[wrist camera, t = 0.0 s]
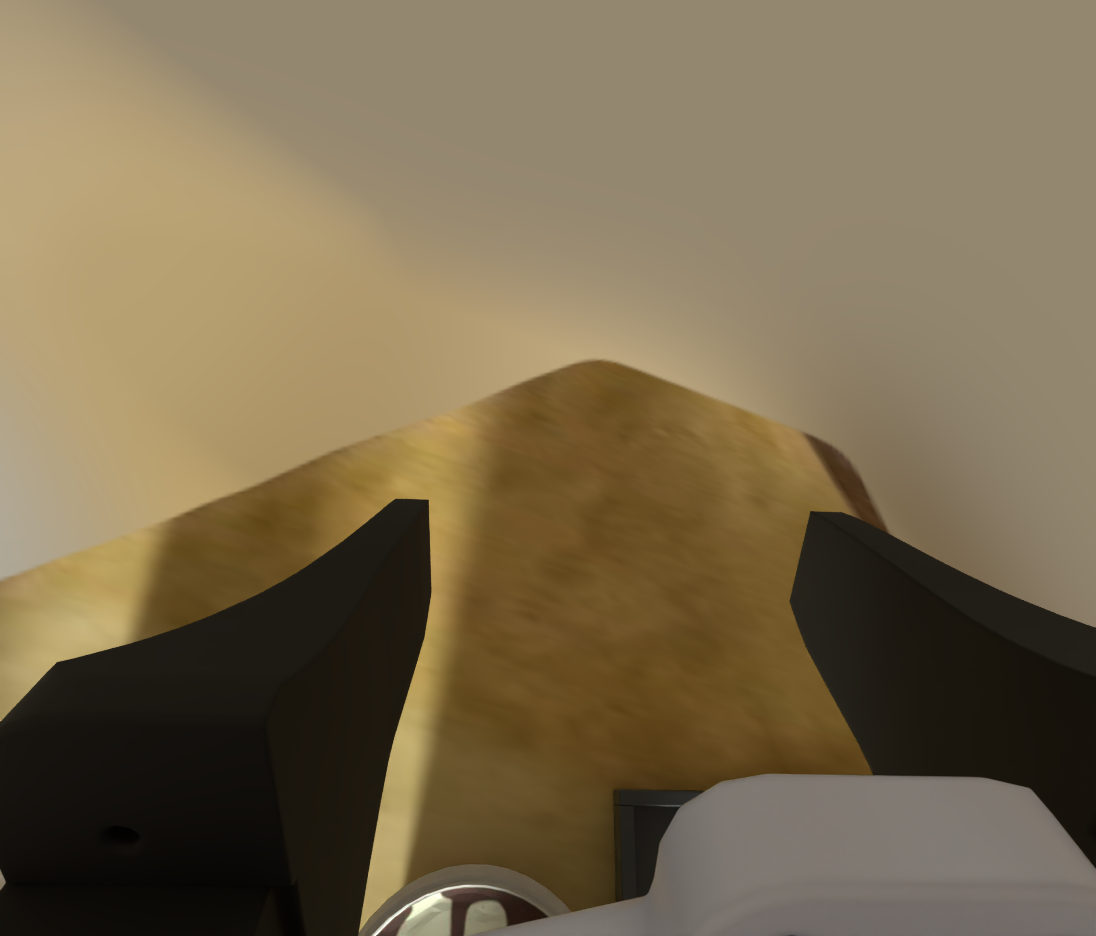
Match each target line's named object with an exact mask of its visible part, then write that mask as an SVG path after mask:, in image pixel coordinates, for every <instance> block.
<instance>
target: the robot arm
mask: <svg viewBox="0 0 1096 936" xmlns="http://www.w3.org/2000/svg"><path fill="white" fill-rule="evenodd" d="M430 598H431V562H430V530H429V500H420V499H395V500H393V501H392V502H391V503H389V504H388V505H387V506H386V507H384V508H383V509H382V510H381V511H380V512H378V513H377V514H376V515H375V516H374V517H372V518H371V519H370V520H369V521H368V522H366V523H365V524H364V525H363V526H361V527H360V528H359V529H358V530H356V531H355V532H354V533H353V534H351V535H350V536H349V537H348V538H346V539H345V540H344V541H342V542H341V543H340V544H338V545H337V546H335V547H334V548H333V549H331V550H330V551H328V552H327V553H325V554H324V555H323V556H321V557H320V558H318V559H317V560H315V561H314V562H312V563H311V564H310V565H308V566H307V567H305V568H304V569H302V570H300V571H299V572H297V573H296V574H294V575H292V576H291V577H289V578H287V579H285V580H284V581H282V582H280V583H278V584H276V585H275V586H273V587H271V588H269V589H267V590H265V591H264V592H262V593H260V594H258V595H256V596H254V597H251V598H249V599H247V600H245V601H243V602H240V603H238V604H236V605H234V606H231V607H229V608H227V609H225V610H222V611H220V612H218V613H216V614H213V615H211V616H209V617H206V618H204V619H201V620H199V621H196V622H193V623H191V624H188V625H185V626H183V627H180V628H177V629H174V630H171V631H168V632H165V633H162V634H159V635H156V636H153V637H150V638H147V639H144V640H141V641H137V642H134V643H131V644H127V645H123V646H119V647H116V648H112V649H108V650H104V651H100V652H96V653H93V654H89V655H85V656H81V657H77V658H74V659H69V660H65V661H60V662H57V663H56V664H55V665H54V666H53V667H52V668H51V669H50V670H49V671H48V672H47V673H46V674H45V675H44V676H43V677H42V678H41V679H40V680H39V681H38V682H37V684H36V685H35V686H34V687H33V688H32V689H31V690H30V691H29V692H28V693H27V694H26V695H25V696H24V697H23V698H22V700H21V701H20V702H19V703H18V704H17V705H16V706H15V707H14V708H13V709H12V710H11V711H10V712H9V713H8V714H7V715H6V717H5V718H4V719H3V720H2V721H1V722H0V870H1V872H2V875H3V877H4V879H5V882H6V883H5V885H4V886H3V887H2V889H1V890H0V936H358V933H359V927H360V921H361V914H362V908H363V902H364V896H365V890H366V884H367V877H368V871H369V865H370V860H371V854H372V848H373V843H374V837H375V831H376V826H377V820H378V814H379V809H380V803H381V798H382V793H383V787H384V782H385V777H386V771H387V766H388V761H389V757H390V753H391V749H392V745H393V741H394V737H395V733H396V730H397V727H398V723H399V720H400V717H401V714H402V710H403V707H404V704H405V700H406V697H407V694H408V690H409V687H410V684H411V680H412V677H413V674H414V671H415V667H416V664H417V660H418V657H419V654H420V650H421V647H422V643H423V640H424V636H425V630H426V624H427V618H428V612H429V605H430ZM790 604H791V607H792V610H793V613H794V616H795V619H796V622H797V625H798V628H799V630H800V633H801V635H802V638H803V641H804V643H805V646H806V648H807V650H808V652H809V654H810V656H811V658H812V659H813V661H814V663H815V665H816V667H817V669H818V671H819V673H820V674H821V676H822V678H823V680H824V682H825V684H826V686H827V687H828V689H829V691H830V693H831V695H832V697H833V698H834V700H835V702H836V704H837V706H838V707H839V709H840V711H841V713H842V715H843V717H844V718H845V720H846V722H847V724H848V726H849V728H850V729H851V731H852V733H853V735H854V737H855V739H856V740H857V742H858V744H859V746H860V748H861V750H862V752H863V754H864V756H865V758H866V760H867V762H868V764H869V766H870V769H871V771H872V773H873V775H818V774H762V775H756V776H750V777H744V778H739V779H733V780H727V781H721V782H719V783H718V784H716V785H714V786H713V787H711V788H709V789H708V790H706V791H705V792H703V793H701V794H700V795H698V796H696V797H695V798H693V799H692V800H690V801H688V802H687V803H685V804H684V805H683V806H681V807H680V808H679V809H678V811H677V813H676V814H675V816H674V818H673V820H672V821H671V823H670V825H669V827H668V829H667V830H666V832H665V834H664V836H663V838H662V839H661V841H660V845H659V851H658V857H657V863H656V869H655V875H654V879H653V882H652V885H651V887H650V890H649V893H648V894H647V895H645V896H643V897H638V898H634V899H629V900H625V901H620V902H616V903H611V904H607V905H602V906H598V907H593V908H589V909H584V910H580V911H575V912H570V913H566V914H561V915H557V916H552V917H548V918H543V919H539V920H534V921H530V922H525V923H521V924H516V925H512V926H507V927H502V928H498V929H493V930H489V931H484V932H480V933H475V934H471V935H466V936H1096V628H1095V627H1092V626H1089V625H1086V624H1083V623H1081V622H1078V621H1075V620H1072V619H1069V618H1067V617H1064V616H1061V615H1058V614H1056V613H1054V612H1051V611H1049V610H1046V609H1044V608H1041V607H1039V606H1036V605H1033V604H1031V603H1029V602H1026V601H1024V600H1021V599H1019V598H1016V597H1014V596H1012V595H1010V594H1007V593H1005V592H1003V591H1001V590H998V589H996V588H994V587H992V586H990V585H988V584H985V583H983V582H981V581H979V580H977V579H975V578H973V577H971V576H969V575H967V574H964V573H962V572H961V571H959V570H957V569H955V568H953V567H951V566H949V565H947V564H945V563H943V562H941V561H939V560H937V559H935V558H933V557H931V556H929V555H927V554H926V553H924V552H922V551H920V550H918V549H916V548H914V547H912V546H910V545H909V544H907V543H905V542H903V541H901V540H899V539H897V538H895V537H894V536H892V535H890V534H888V533H886V532H884V531H882V530H880V529H878V528H876V527H874V526H872V525H870V524H868V523H866V522H864V521H862V520H860V519H858V518H856V517H853V516H851V515H848V514H845V513H843V512H814V511H810V516H809V520H808V524H807V528H806V533H805V537H804V541H803V546H802V550H801V554H800V559H799V563H798V567H797V571H796V576H795V580H794V584H793V589H792V593H791V597H790Z"/></svg>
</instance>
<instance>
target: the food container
mask: <svg viewBox="0 0 1096 936" xmlns="http://www.w3.org/2000/svg"><path fill="white" fill-rule="evenodd" d="M570 912H571V911H570V910H569V909H568V908H567V906H566V905H565V904H564V903H563V902H562V901H561V900H560V899H559V898H558V897H556V896H555V895H554V894H553V893H552V892H551V891H550V890H549V889H547V888H546V887H544V886H543V885H541V884H540V883H538V882H536V881H535V880H533V879H532V878H530V877H528V876H526V875H523V874H521V873H519V872H516V871H514V870H511V869H508V868H504V867H499V866H494V865H489V864H464V865H458V866H451V867H446V868H443V869H440V870H437V871H434V872H432V873H429V874H426V875H424V876H422V877H420V878H419V879H417V880H415V881H413V882H411V883H409V884H407V885H406V886H405V887H403V888H402V889H401V890H399V891H398V892H397V893H395V894H394V895H393V896H391V897H390V898H389V899H388V900H387V901H386V902H385V903H384V904H383V905H382V906H381V907H380V908H379V909H378V910H377V911H376V912H375V913H374V914H373V915H372V916H371V917H370V918H369V920H368V921H367V923H366V924H365V925H364V927H363V928H362V929H361V931H360V932H359V933H358V936H466V935H471V934H475V933H480V932H484V931H489V930H493V929H498V928H502V927H507V926H512V925H516V924H521V923H525V922H530V921H534V920H539V919H543V918H548V917H552V916H557V915H561V914H566V913H570Z"/></svg>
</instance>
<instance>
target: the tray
mask: <svg viewBox="0 0 1096 936" xmlns="http://www.w3.org/2000/svg"><path fill="white" fill-rule="evenodd" d="M703 792H705V791H696V790H632V789H614V790H613V795H614V839H615V883H616V902H620V901H625V900H629V899H634V898H638V897H643V896H645V895H647V894H648V893H649V890H650V887H651V885H652V882H653V879H654V875H655V869H656V863H657V857H658V851H659V845H660V841H661V839H662V838H663V836H664V834H665V832H666V830H667V829H668V827H669V825H670V823H671V821H672V820H673V818H674V816H675V814H676V813H677V811H678V809H679V808H680V807H681V806H683V805H684V804H685V803H687V802H688V801H690V800H692V799H693V798H695V797H696V796H698V795H700V794H701V793H703Z"/></svg>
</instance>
